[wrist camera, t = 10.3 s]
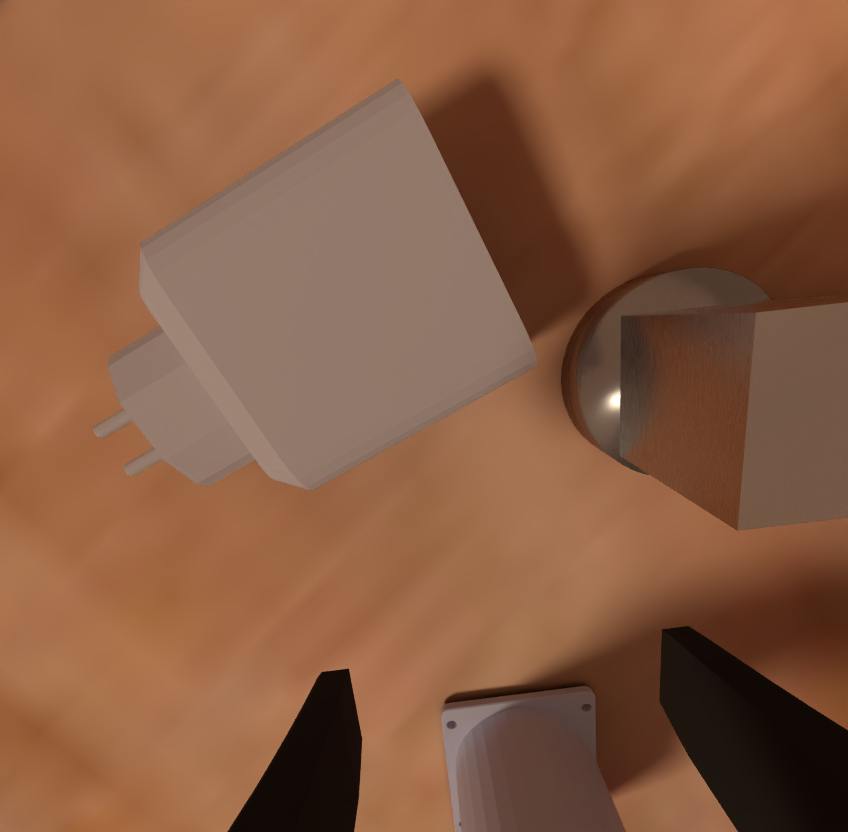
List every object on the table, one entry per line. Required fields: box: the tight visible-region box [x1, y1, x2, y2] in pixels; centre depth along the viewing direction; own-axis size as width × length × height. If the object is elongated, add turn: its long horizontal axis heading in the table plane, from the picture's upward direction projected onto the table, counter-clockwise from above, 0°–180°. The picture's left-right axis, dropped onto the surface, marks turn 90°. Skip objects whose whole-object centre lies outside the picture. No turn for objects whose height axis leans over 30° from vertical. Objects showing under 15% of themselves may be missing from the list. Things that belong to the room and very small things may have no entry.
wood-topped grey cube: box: [620, 295, 848, 531], centre depth 12 cm, size 5×5×6 cm
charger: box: [93, 79, 538, 490], centre depth 14 cm, size 5×9×15 cm
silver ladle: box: [561, 267, 770, 475], centre depth 15 cm, size 8×19×5 cm, turn 97°
